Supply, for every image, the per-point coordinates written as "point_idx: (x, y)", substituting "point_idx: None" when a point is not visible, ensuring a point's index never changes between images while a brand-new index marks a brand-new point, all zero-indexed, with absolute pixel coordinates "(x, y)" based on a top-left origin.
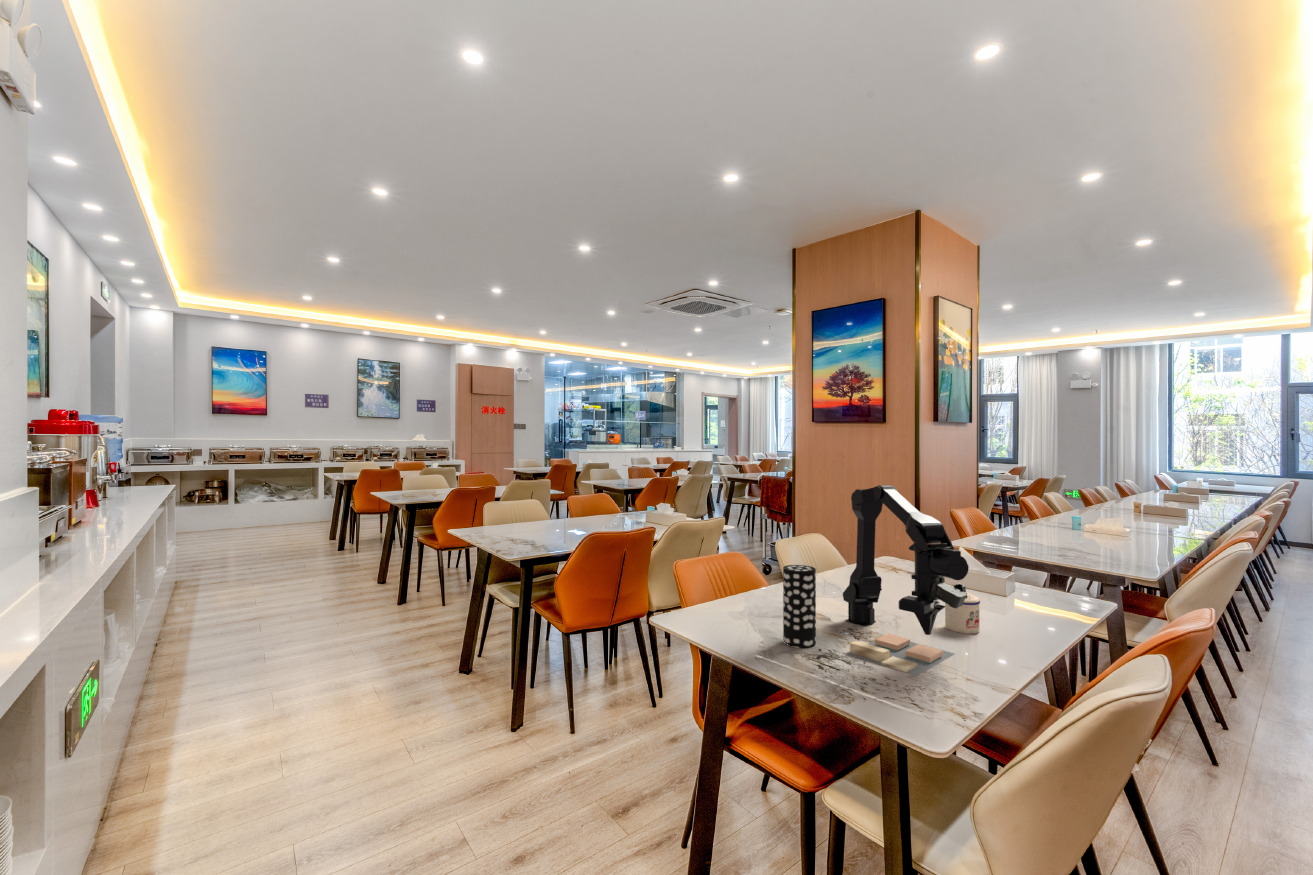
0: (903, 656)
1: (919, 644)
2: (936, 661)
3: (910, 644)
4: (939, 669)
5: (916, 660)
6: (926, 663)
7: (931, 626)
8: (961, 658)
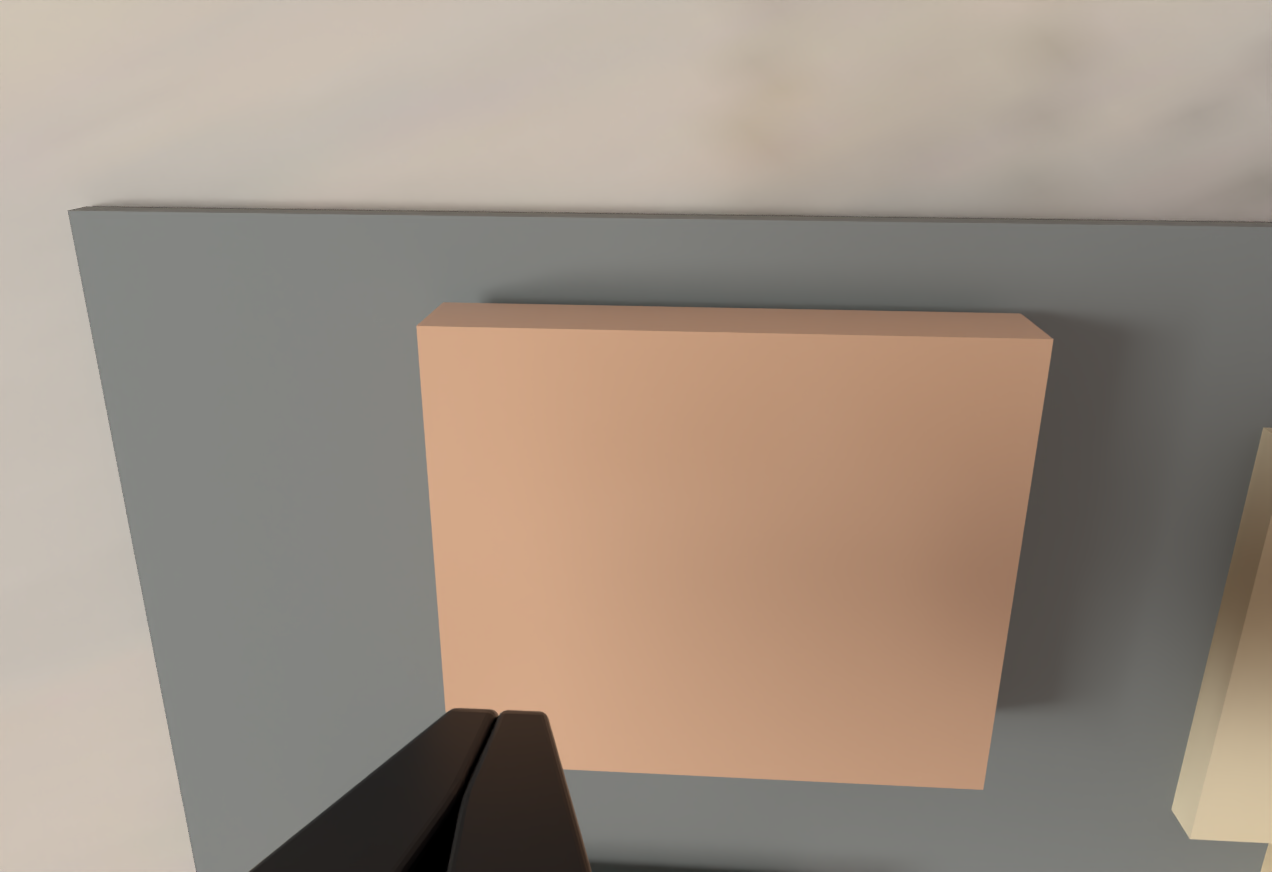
0: None
1: None
2: (769, 284)
3: None
4: (1056, 108)
5: None
6: None
7: (416, 855)
8: (139, 55)
